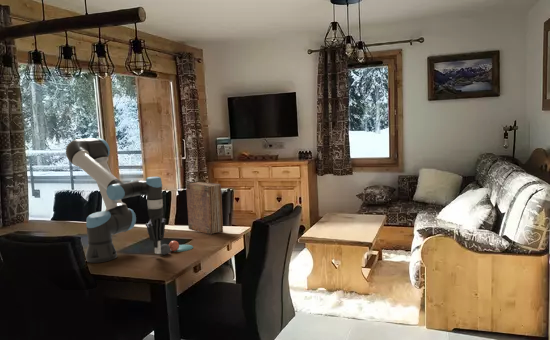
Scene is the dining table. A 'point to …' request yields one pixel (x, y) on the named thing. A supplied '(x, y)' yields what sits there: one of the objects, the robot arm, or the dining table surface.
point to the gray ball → (165, 249)
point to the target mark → (184, 248)
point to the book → (204, 207)
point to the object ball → (174, 245)
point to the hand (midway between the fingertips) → (157, 253)
